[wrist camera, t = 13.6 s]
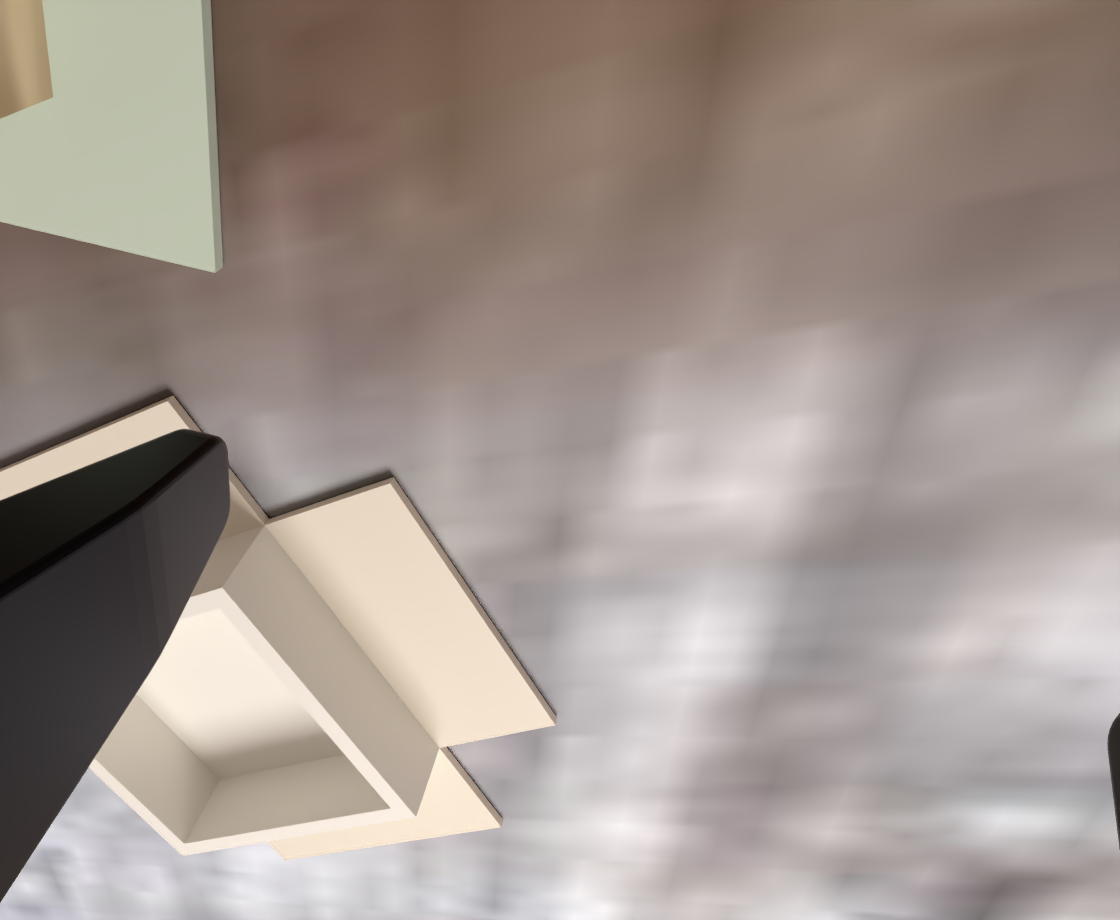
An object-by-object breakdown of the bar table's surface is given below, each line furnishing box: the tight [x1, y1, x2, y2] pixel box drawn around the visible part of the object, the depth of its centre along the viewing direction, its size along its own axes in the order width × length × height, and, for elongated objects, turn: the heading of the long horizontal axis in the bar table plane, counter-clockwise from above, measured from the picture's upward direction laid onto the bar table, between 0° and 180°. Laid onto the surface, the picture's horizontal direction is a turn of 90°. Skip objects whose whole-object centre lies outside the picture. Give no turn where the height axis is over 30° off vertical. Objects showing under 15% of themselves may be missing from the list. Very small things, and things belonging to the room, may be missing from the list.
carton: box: [0, 396, 557, 860], centre depth 30 cm, size 19×19×3 cm
